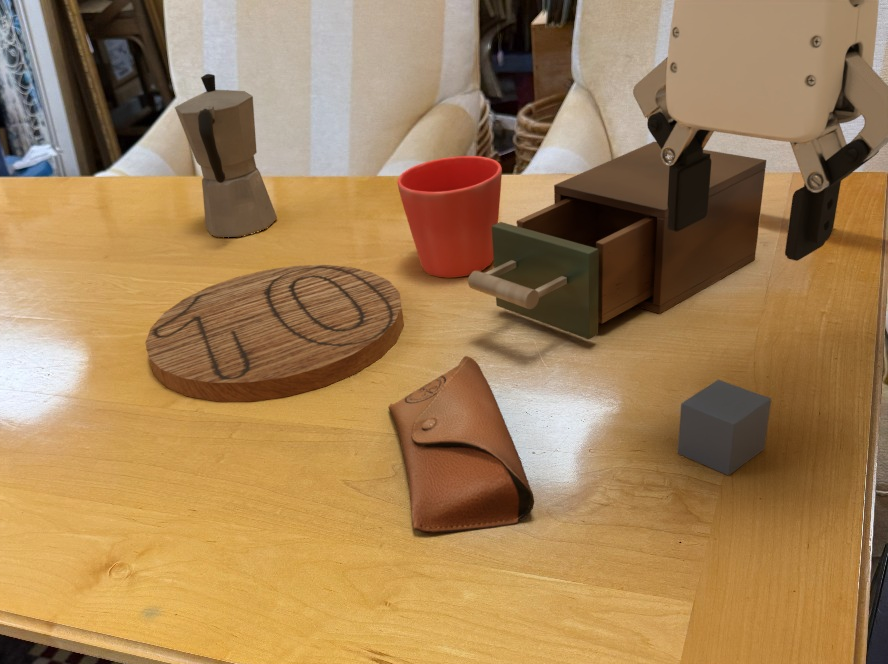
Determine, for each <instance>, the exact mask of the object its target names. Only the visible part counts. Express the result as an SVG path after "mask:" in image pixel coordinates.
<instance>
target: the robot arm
mask: <svg viewBox="0 0 888 664" xmlns="http://www.w3.org/2000/svg"><path fill="white" fill-rule="evenodd" d="M878 15H879V0H674V2H673V9H672V15H671V23H670V31H669V40H668V49H667V56H666V58H665V59H663V60H662V61H661V62H659V64H657V66H655V67H654V68H653V69H651V71H649V72H648V73H647V74H646V75H645V76H644V77H643V78H642V79H640V80H639V81H638V82H637V83H636V84H635V85H633V89H632V94H633V97H634V99H635V101H636V103H637V105H638V107H639V109H640V110H641V112H642V114H643V116H644V118H645V119H647V122H646V123H647V124H646V125H647V129H648V132H649V133H650V135H651V136H652V137H653V139H654V141H655V142H657V143H658V145H659V146H660V148H661V149H662V150H661V155H660V156H661V160H662V162H663V163H664V164H665V165H667V166H669V185H668V203H667V205H668V209H669V212H668V229H669V230H671V231H675V232H678V231H680V230H682V229H684V228H686V227H688V226H690V225H692V224H694V223H696V222H698V221H700V220H702V219H704V218H705V217H706V215H707V211H708V199H709V186H710V174H711V159H710V154H707V153H703V150H705V147H706V146H707V144H708V143H709V141H710V139H711V137H712V135H713V134H714V132H715V133H716V132H717V133H723V134H729V135H735V136H743V137H750V138H756V139H762V140H763V139H764V140H771V141H779V142H787V143H789V144H790V146H791V149H792V152H793V155H794V157H795V161H796V164H797V166H798V169H799V171H800V174H801V177H802V180H803V184H804V185H803V186H802V187H800V188H798V189H796V190H795V191H793V193H792V199H791V204H790V205H791V206H790V213H789V221H788V228H787V236H786V243H785V250H784V255H785V256H786V258H787V259H788V260H792V261H796V262H798V261H800V260H802V259H803V258H805V257H807V256H808V255H811V254H812V253H813V252H815V251H817V250H819V249H820V248H822V247H823V246H824V245H825V243H826V242H827V241H828V240H829V239H830V238H831V235H832V234H833V231H834V226H835V220H836V215H837V214H836V213H837V207H838V201H839V196H840V189H841V188H840V187H841V184H842V181H843V180H844V179H846V178H848V177H850V176H851V174H852V173H854V172H855V171H856V170H857V169H859V168H860V167H862V166H863V165H864V164H866V163H867V162H868V161H869V160H871V159H873V158H874V157H875V156H877V154H878V153H879V152H880V150H881V149H882V148H883V147H884V146H885V145H887V144H888V84H887V83H886V82H885V81H884V80H883V79H882V78H881V76H880V75H879V74H878V73H877V72H876V71H875V70H874V68H873V66H874V59H875V49H876V40H877V39H876V37H877V29H878V28H877V27H878ZM860 116H862V118H863V121H864V125H863V127H862V129H861V130H860V131H859V132H858V133H857V135H856V136H855V137H854V138H853V139H851V141H850V142H848V143H847V141H846V138H845V135H844V132H843V130H842V126H841V124H845V123H849V122H852V121H854V120H856V119H858V118H860Z"/></svg>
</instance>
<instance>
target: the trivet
mask: <svg viewBox="0 0 888 664" xmlns="http://www.w3.org/2000/svg"><path fill="white" fill-rule="evenodd" d="M404 326H405V323H404V316H403V308H402V299H401V293H400V292H399V290H398V289H397V288H396V287H395V285H394V284H393V283H392V282H391V281H390V280H389V279H386V278H384V277H382V276H380V275H379V274H376V273H375V272H372V271H369V270H365V269H361V268H357V267H352V266H342V265H331V264H307V265H305V264H304V265H291V266H284V267H276V268H270V269H264V270H259V271H256V272H252V273H247V274H243V275H238V276H235V277H232V278H229V279H227V280H224V281H221V282H219V283H215V284H213V285H210V286H207V287H205V288H203V289H201V290H198V291H197V292H195V293H193V294H191V295H189V296H187V297H185V298H183V299H182V300H180V301H179V302H177V303H176V304H175V305H174V306H172V307H170V308H169V309H167V310H166V311H165V312H163V314H162V315H161V316H160V317H159V318H158V319H157V320H156V321H155V323H153V325H152V326H151V327H150V328H149V332H148V334H147V337H146V339H145V343H144V344H145V347H146V352H147V356H148V359H149V363H150V367H151V369H152V372H153V375H154V377H156V378H157V380H159V381H160V382H161V383H162V384H163V385H164V386H165V388H167V389H170V390H172V391H174V392H177V393H179V394H181V395H184V396H186V397H188V398H194V399H199V400H200V399H201V400H205V401H213V402H222V403H223V402H224V403H225V402H236V403H237V402H238V403H239V402H241V403H242V402H243V403H244V402H246V403H247V402H249V403H251V402H258V401H266V400H273V399H280V398H281V399H282V398H286V397H287V398H288V397H291V396H296V395H299V394H304V393H307V392H311V391H315V390H318V389H321V388H325V387H328V386H330V385H333V384H334V383H337V382H340V381H342V380H344V379H347V378H349V377H351V376H354V375H356V374H358V373H360V372H361V371H362V370H364V369H365V368H367V367H368V366H371V365H372V364H373V363H375V362H377V361H378V360H379V359H381V358H383V356H384V355H385V354H386V353H387V352H388V351H389V350H390V349H391V348H392V347H393V346H394V345H395V344H396V343H397V342H398V340H399V339H400V335H401V334H402V333H401V332H402V331H403V328H404Z"/></svg>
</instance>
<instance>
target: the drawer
mask: <svg viewBox="0 0 888 664" xmlns="http://www.w3.org/2000/svg"><path fill="white" fill-rule="evenodd" d="M657 218H658V217H654V216H650V215H646V214H641V213H637V212H633V211H629V210H624V209H620V208H616V207H611V206H607V205H603V204H599V203H594V202H590V201H586V200H581V199H577V198H573V197H568V198H566V199H564V200H562V201H560V202H557V203H555V202H554V203H553V204H551V205H549V206H546V207H543V208H541V209H540V210H537V211H535V212H533V213H531V214H528V215H526V216H524V217H522V218H520V219H517V220H516V225H513V224H510V223H507V222H503V221H498V223H497V224H495V225H493V226H492V242H493V258H494V259H493V268H492V269H490V270H488V271H486V272H483V271H473V272H472V273H471V274H470V275H468V280H467V284H468V287H469V288H470V289H471V290H474V291H477V292H480V293H483V294H486V295H489V296H492V297H494V298H495V305H496V306H497V307H498V308H502V309H504V310H507V311H510V312H513V313H515V314H518V315H520V316H524V317H526V318H529V319H532V320H534V321H537V322H540V323H542V324H545V325H548V326H551V327H553V328H556V329H558V330H560V331H561V330H562V331H565V332H567V333H570V334H573V335H576V336H578V337H581V338H584V339H586V340H591V339H593V338H595V337H597V336H599V324H604V323H606V322H608V321H609V320H611V319H613V318H615V317H617V316H619V315H621V314H622V313H624V312H626V311H628V310H630V309H632V308H633V307H636V306H635V305H637V304H638V303H640V302H642V301H644V300H646V299H648V298H649V297H651V296H653V295H654V275H655V254H656V233H657Z"/></svg>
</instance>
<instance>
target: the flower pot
mask: <svg viewBox="0 0 888 664" xmlns="http://www.w3.org/2000/svg"><path fill="white" fill-rule="evenodd" d="M502 175H503V169H502V164H500V162H498V161H497V160H495V159H493V158H491V157H490V158H489V157H486V156H478V155H477V156H476V155H462V156H461V155H460V156H459V155H458V156H450V157H444V158H438V159H433V160H429V161H426V162H421V163H419V164H416V165H414V166H412V167H410V168H408V169H406V170H404V172H402V173H401V174H400V175H399V176H398V177H397V187H398V192H399V196H400V200H401V203H402V206H403V210H404V213H405V217H406V220H407V223H408V226H409V229H410V233H411V236H412V239H413V243H414V245H415V249H416V252H417V255H418V259H419V263H420V265H421V267H422V270H424V271H425V273H427V274H428V275H431V276H433V277H438V278H447V279H449V278H461V277H467V276H470V274H471V273H472V272H473V271H480V272H483V271H484V270H485V269H486V268H487V267H489V266H491V265H492V263H494V258H493V242H492V226H493V225H495V224H497V223H499V215H500V214H499V213H500V203H501V202H500V201H501V191H502V178H503V177H502Z"/></svg>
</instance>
